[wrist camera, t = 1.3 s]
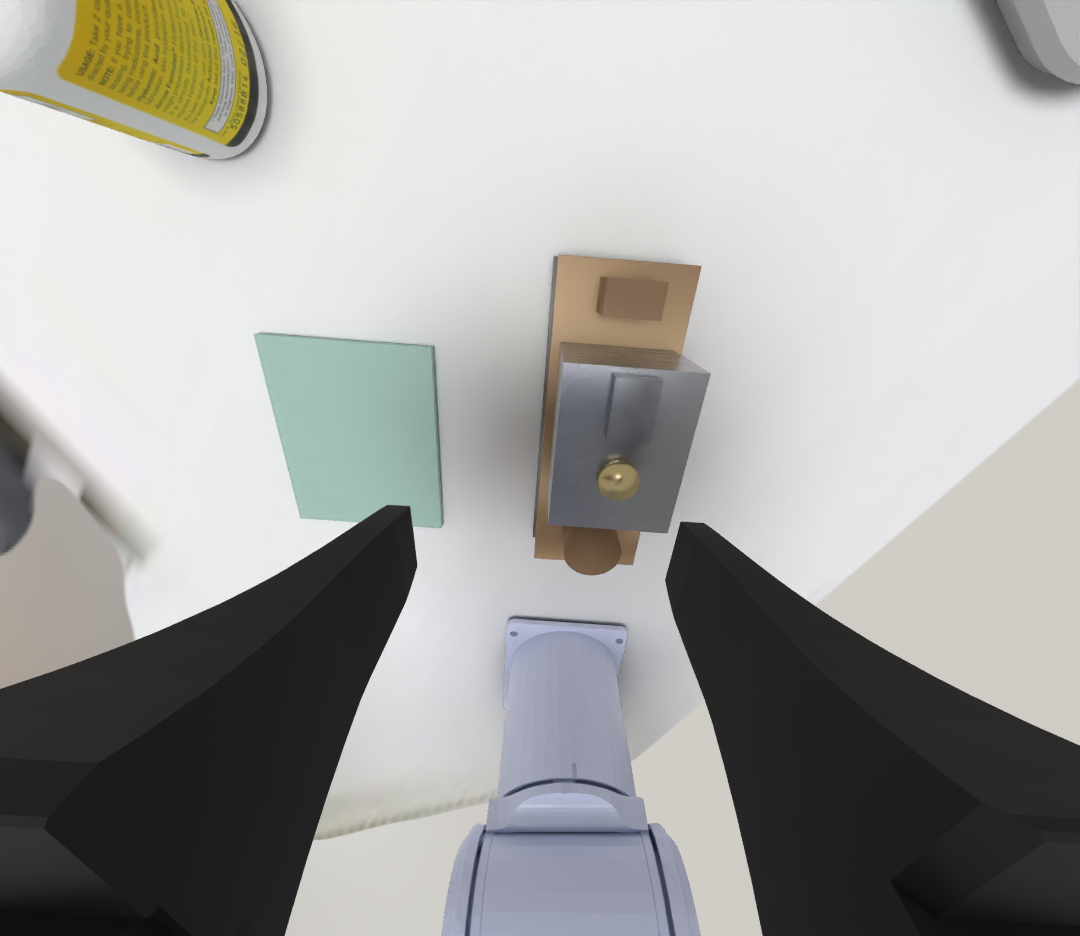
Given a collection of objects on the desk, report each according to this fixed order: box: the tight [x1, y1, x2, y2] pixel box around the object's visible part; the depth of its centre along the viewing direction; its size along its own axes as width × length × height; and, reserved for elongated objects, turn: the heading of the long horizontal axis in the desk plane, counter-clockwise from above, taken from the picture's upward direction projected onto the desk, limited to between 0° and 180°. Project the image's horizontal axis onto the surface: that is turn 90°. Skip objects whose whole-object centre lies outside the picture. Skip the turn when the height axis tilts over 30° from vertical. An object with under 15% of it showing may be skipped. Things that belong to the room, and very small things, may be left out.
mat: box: [254, 333, 443, 528], centre depth 20 cm, size 10×8×1 cm
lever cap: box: [548, 342, 710, 533], centre depth 15 cm, size 6×4×5 cm
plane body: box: [533, 255, 701, 575], centre depth 17 cm, size 14×6×4 cm, turn 176°
